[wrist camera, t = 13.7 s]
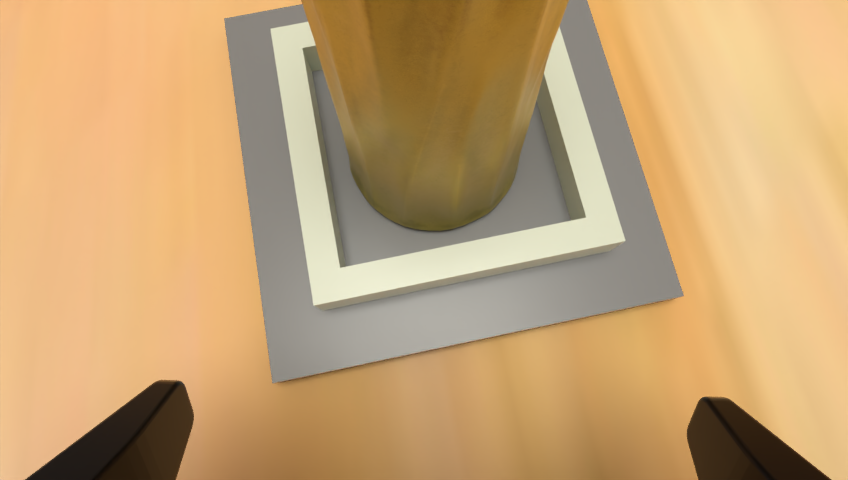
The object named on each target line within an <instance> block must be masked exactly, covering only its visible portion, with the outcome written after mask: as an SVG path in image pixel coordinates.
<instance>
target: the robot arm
mask: <svg viewBox="0 0 848 480" xmlns="http://www.w3.org/2000/svg"><path fill="white" fill-rule="evenodd" d="M193 420H194V414H193V409H192V406H191V403H190V400H189V397H188V394H187V391H186V387H185V385H184V384H183V383H182V382H181V381H177V380H159V381H157V382H155V383H153V384H152V385H150V386H149V387H148V388H146V389H145V390H144V391H142V392H141V393H140V394H138V395H137V396H136V397H134V398H133V399H132V400H130V401H129V402H128V403H126V404H125V405H124V406H122V407H121V408H120V409H118V410H117V411H116V412H114V413H113V414H112V415H110V416H109V417H108V418H106V419H105V420H104V421H102V422H101V423H100V424H98V425H97V426H96V427H94V428H93V429H92V430H90V431H89V432H88V433H86V434H85V435H84V436H82V437H81V438H80V439H78V440H77V441H76V442H74V443H73V444H72V445H70V446H69V447H68V448H66V449H65V450H64V451H62V452H61V453H60V454H58V455H57V456H56V457H55V458H53V459H52V460H51V461H49V462H48V463H47V464H45V465H44V466H43V467H41V468H40V469H39V470H37V471H36V472H35V473H33V474H32V475H31V476H29V477H28V478H27V479H25V480H176V477H177V474H178V471H179V468H180V464H181V461H182V458H183V455H184V451H185V448H186V445H187V442H188V439H189V435H190V432H191V429H192V425H193ZM687 440H688V444H689V448H690V451H691V455H692V458H693V462H694V465H695V469H696V473H697V476H698V480H831V479H830V478H829V477H827V476H826V475H825V474H823V473H822V472H821V471H820V470H818V469H817V468H816V467H815V466H813V465H812V464H811V463H810V462H808V461H807V460H806V459H805V458H803V457H802V456H801V455H800V454H798V453H797V452H796V451H794V450H793V449H792V448H791V447H789V446H788V445H787V444H786V443H784V442H783V441H782V440H781V439H779V438H778V437H777V436H776V435H774V434H773V433H772V432H771V431H769V430H768V429H767V428H765V427H764V426H763V425H762V424H760V423H759V422H758V421H757V420H755V419H754V418H753V417H752V416H750V415H749V414H748V413H747V412H745V411H744V410H743V409H742V408H740V407H739V406H738V405H736V404H735V403H734V402H733V401H731V400H730V399H728V398H725V397H703V398H701V399H700V400H699V402H698V404H697V406H696V408H695V411H694V413H693V416H692V418H691V420H690V423H689V425H688V428H687Z"/></svg>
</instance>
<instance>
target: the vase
mask: <svg viewBox="0 0 848 480" xmlns="http://www.w3.org/2000/svg"><path fill="white" fill-rule="evenodd" d="M301 1H302V4H303V7H304V11H305V14H306V17H307V20H308V23H309V26H310V29H311V32H312V35H313V38H314V41H315V45H316V48H317V52H318V55H319V59H320V62H321V66H322V69H323V72H324V76H325V79H326V82H327V85H328V88H329V91H330V94H331V97H332V101H333V104H334V107H335V110H336V113H337V116H338V119H339V122H340V126H341V129H342V133H343V137H344V141H345V144H346V148H347V152H348V155H349V162H350V170H351V173H352V176H353V178H354V180H355V182H356V184H357V186H358V188H359V189H360V191H361V192H362V194H363V196H364V197H365V198H366V200H367V201H368V202H369V204H370V205H371V206H372V207H373V208H374V209H376V210H377V211H378V212H379V213H381V214H382V215H383V216H385V217H386V218H388V219H390V220H392V221H393V222H395V223H398V224H400V225H402V226H405V227H409V228H413V229H418V230H427V231H443V230H450V229H454V228H457V227H460V226H463V225H465V224H468V223H470V222H473V221H475V220H477V219H479V218H481V217H483V216H484V215H486V214H488V213H489V212H490V211H491V210H493V209H494V208H495V207H496V205H497V204H498V203H499V202H500V201H501V200H502V198H503V197H504V196H505V195H506V193H507V192H508V191H509V189H510V188H511V186H512V183H513V181H514V179H515V176H516V172H517V168H518V163H519V157H520V154H521V150H522V146H523V143H524V140H525V136H526V133H527V130H528V127H529V124H530V120H531V117H532V114H533V111H534V107H535V104H536V100H537V96H538V93H539V89H540V85H541V82H542V78H543V74H544V71H545V67H546V63H547V60H548V56H549V53H550V50H551V47H552V43H553V41H554V39H555V36H556V34H557V31H558V29H559V26H560V23H561V20H562V18H563V15H564V12H565V9H566V7H567V4H568V1H569V0H301Z"/></svg>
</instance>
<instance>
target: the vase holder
mask: <svg viewBox="0 0 848 480" xmlns="http://www.w3.org/2000/svg"><path fill="white" fill-rule="evenodd" d="M224 20H225V28H226V35H227V43H228V51H229V58H230V66H231V73H232V81H233V88H234V96H235V103H236V111H237V119H238V126H239V134H240V141H241V149H242V156H243V164H244V171H245V179H246V187H247V194H248V202H249V209H250V217H251V224H252V232H253V239H254V247H255V255H256V262H257V270H258V277H259V285H260V292H261V300H262V307H263V315H264V322H265V330H266V338H267V345H268V353H269V360H270V368H271V375H272V383H279V382H284V381H289V380H293V379H298V378H303V377H307V376H312V375H317V374H322V373H326V372H331V371H336V370H340V369H345V368H350V367H355V366H359V365H364V364H369V363H373V362H378V361H383V360H388V359H392V358H397V357H402V356H406V355H411V354H416V353H421V352H425V351H430V350H435V349H439V348H444V347H449V346H454V345H458V344H463V343H468V342H472V341H477V340H482V339H487V338H491V337H496V336H501V335H505V334H510V333H515V332H520V331H524V330H529V329H534V328H538V327H543V326H548V325H553V324H557V323H562V322H567V321H571V320H576V319H581V318H586V317H590V316H595V315H600V314H604V313H609V312H614V311H619V310H623V309H628V308H633V307H637V306H642V305H647V304H651V303H656V302H661V301H666V300H670V299H675V298H678V297H682V296H684V295H683V292H682V289H681V286H680V283H679V280H678V277H677V274H676V271H675V268H674V265H673V261H672V258H671V255H670V252H669V249H668V246H667V243H666V240H665V237H664V234H663V231H662V228H661V225H660V222H659V219H658V216H657V213H656V210H655V207H654V204H653V200H652V197H651V194H650V191H649V188H648V185H647V182H646V179H645V176H644V173H643V170H642V167H641V164H640V161H639V158H638V155H637V152H636V149H635V146H634V143H633V139H632V136H631V133H630V130H629V127H628V124H627V121H626V118H625V115H624V112H623V109H622V106H621V103H620V100H619V97H618V94H617V91H616V88H615V85H614V82H613V78H612V75H611V72H610V69H609V66H608V63H607V60H606V57H605V54H604V51H603V48H602V45H601V42H600V39H599V36H598V33H597V30H596V27H595V24H594V20H593V17H592V14H591V11H590V8H589V5H588V2H587V0H569V1H568V4H567V7H566V9H565V12H564V15H563V18H562V20H561V23H560V26H559V29H558V31H557V34H556V36H555V39H554V41H553V43H552V47H551V50H550V53H549V56H548V60H547V63H546V67H545V71H544V74H543V78H542V82H541V85H540V89H539V93H538V96H537V100H536V104H535V107H534V111H533V114H532V117H531V120H530V124H529V127H528V130H527V133H526V136H525V140H524V143H523V146H522V150H521V154H520V157H519V163H518V168H517V172H516V176H515V179H514V181H513V183H512V186H511V188H510V189H509V191H508V192H507V193H506V195H505V196H504V197H503V198H502V200H501V201H500V202H499V203H498V204H497V205H496V207H495V208H494V209H493V210H491V211H490V212H489V213H488V214H486V215H484V216H483V217H481V218H479V219H477V220H475V221H473V222H470V223H468V224H465V225H463V226H460V227H457V228H454V229H450V230H443V231H427V230H418V229H413V228H409V227H405V226H402V225H400V224H398V223H395V222H393V221H392V220H390V219H388V218H386V217H385V216H383V215H382V214H381V213H379V212H378V211H377V210H376V209H374V208H373V207H372V206H371V205H370V204H369V202H368V201H367V200H366V198H365V197H364V196H363V194H362V192H361V191H360V189H359V188H358V186H357V184H356V182H355V180H354V178H353V176H352V173H351V170H350V162H349V155H348V152H347V148H346V144H345V141H344V137H343V133H342V129H341V126H340V122H339V119H338V116H337V113H336V110H335V107H334V104H333V101H332V97H331V94H330V91H329V88H328V85H327V82H326V79H325V76H324V72H323V69H322V66H321V62H320V59H319V55H318V52H317V48H316V45H315V41H314V38H313V35H312V32H311V29H310V26H309V23H308V20H307V17H306V14H305V11H304V7H303V4H301V5H295V6H290V7H285V8H279V9H274V10H268V11H263V12H258V13H252V14H247V15H241V16H236V17H230V18H225V19H224Z"/></svg>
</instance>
